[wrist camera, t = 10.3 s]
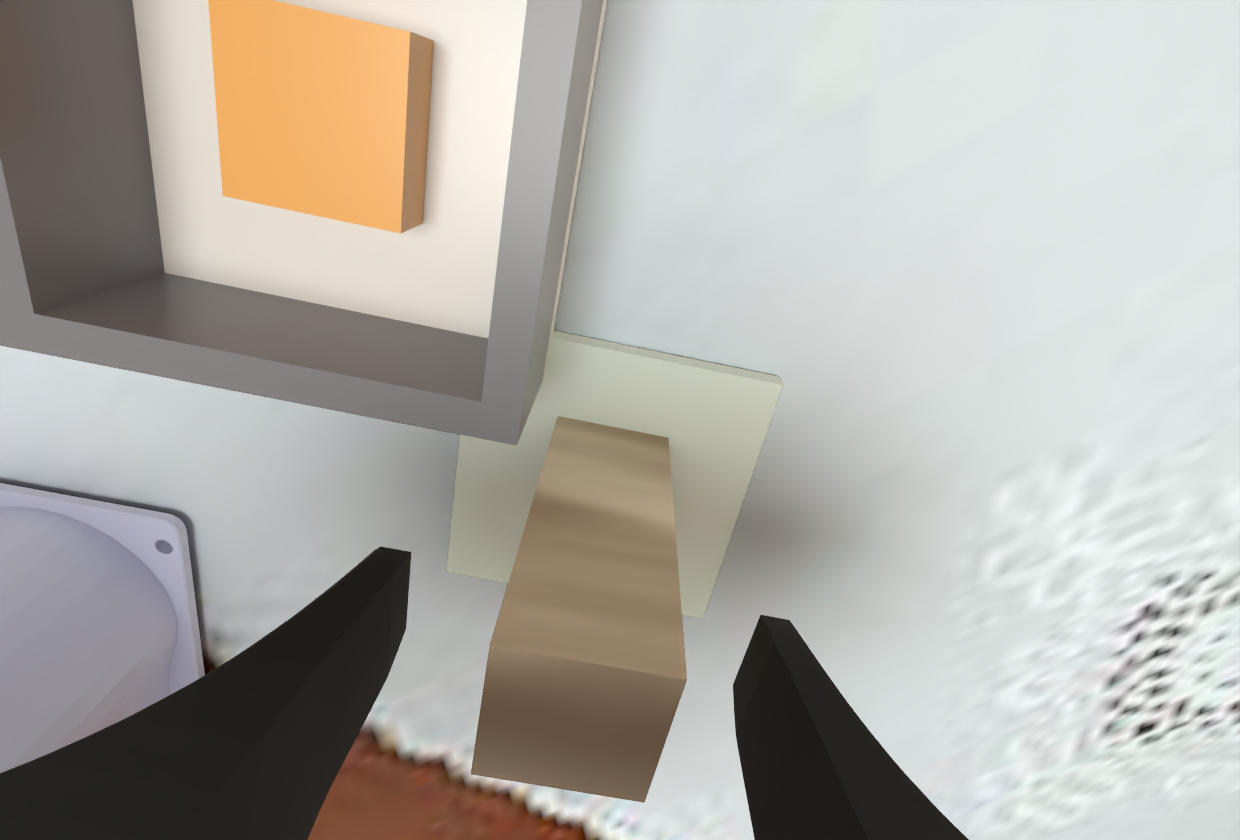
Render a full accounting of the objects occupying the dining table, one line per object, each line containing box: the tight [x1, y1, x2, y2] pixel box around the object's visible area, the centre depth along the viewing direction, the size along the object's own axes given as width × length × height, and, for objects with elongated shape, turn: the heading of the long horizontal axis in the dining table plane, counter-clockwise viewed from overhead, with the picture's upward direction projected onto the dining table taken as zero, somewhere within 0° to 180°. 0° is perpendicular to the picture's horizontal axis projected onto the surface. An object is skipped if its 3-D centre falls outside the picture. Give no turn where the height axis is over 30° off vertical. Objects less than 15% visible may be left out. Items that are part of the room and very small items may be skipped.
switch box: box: [0, 0, 607, 446], centre depth 12 cm, size 10×10×4 cm
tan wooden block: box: [471, 416, 687, 802], centre depth 14 cm, size 3×3×8 cm
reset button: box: [208, 0, 434, 233], centre depth 13 cm, size 4×4×1 cm
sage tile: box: [446, 331, 783, 619], centre depth 18 cm, size 8×8×1 cm
